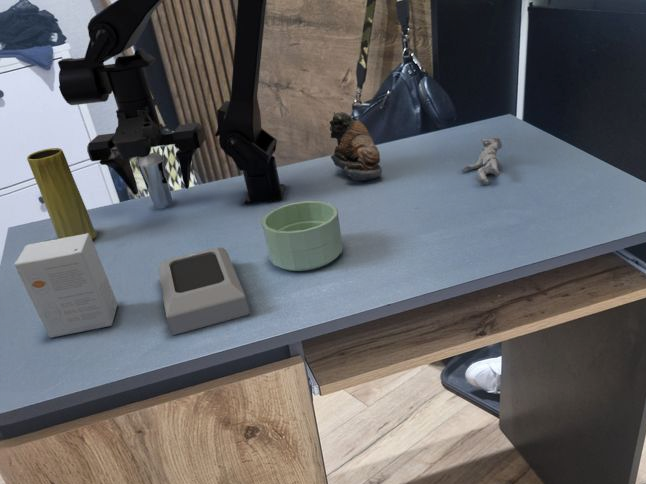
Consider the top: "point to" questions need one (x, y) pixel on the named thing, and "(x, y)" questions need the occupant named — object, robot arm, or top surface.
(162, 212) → the top surface
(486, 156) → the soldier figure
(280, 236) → the sage green round tub
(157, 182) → the milkshake
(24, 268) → the small box
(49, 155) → the vase
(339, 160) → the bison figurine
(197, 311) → the grey flat block
